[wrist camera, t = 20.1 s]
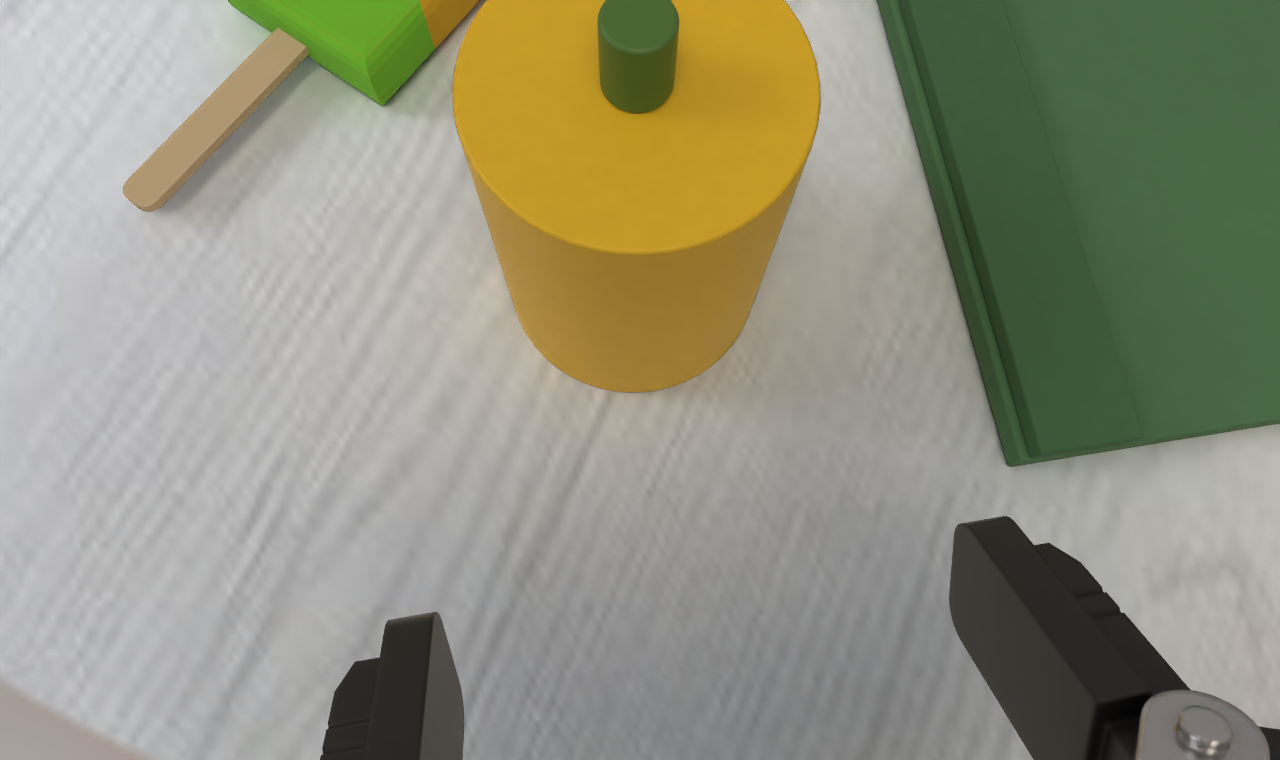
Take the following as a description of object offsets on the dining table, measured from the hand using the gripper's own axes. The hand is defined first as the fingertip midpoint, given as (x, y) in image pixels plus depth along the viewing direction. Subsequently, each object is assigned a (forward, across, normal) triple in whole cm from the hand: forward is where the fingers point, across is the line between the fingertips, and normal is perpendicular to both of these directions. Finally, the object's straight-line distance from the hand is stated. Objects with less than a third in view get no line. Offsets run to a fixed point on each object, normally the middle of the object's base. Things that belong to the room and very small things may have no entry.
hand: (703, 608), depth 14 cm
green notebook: (+12, -14, -3) cm, 19 cm away
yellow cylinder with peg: (+10, 0, -1) cm, 10 cm away
